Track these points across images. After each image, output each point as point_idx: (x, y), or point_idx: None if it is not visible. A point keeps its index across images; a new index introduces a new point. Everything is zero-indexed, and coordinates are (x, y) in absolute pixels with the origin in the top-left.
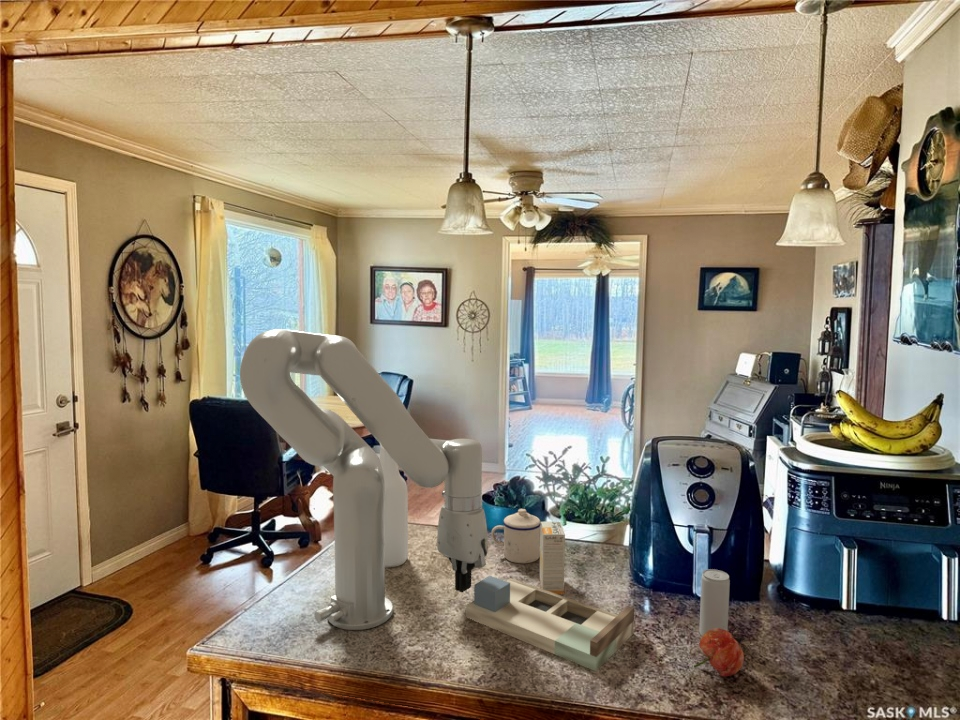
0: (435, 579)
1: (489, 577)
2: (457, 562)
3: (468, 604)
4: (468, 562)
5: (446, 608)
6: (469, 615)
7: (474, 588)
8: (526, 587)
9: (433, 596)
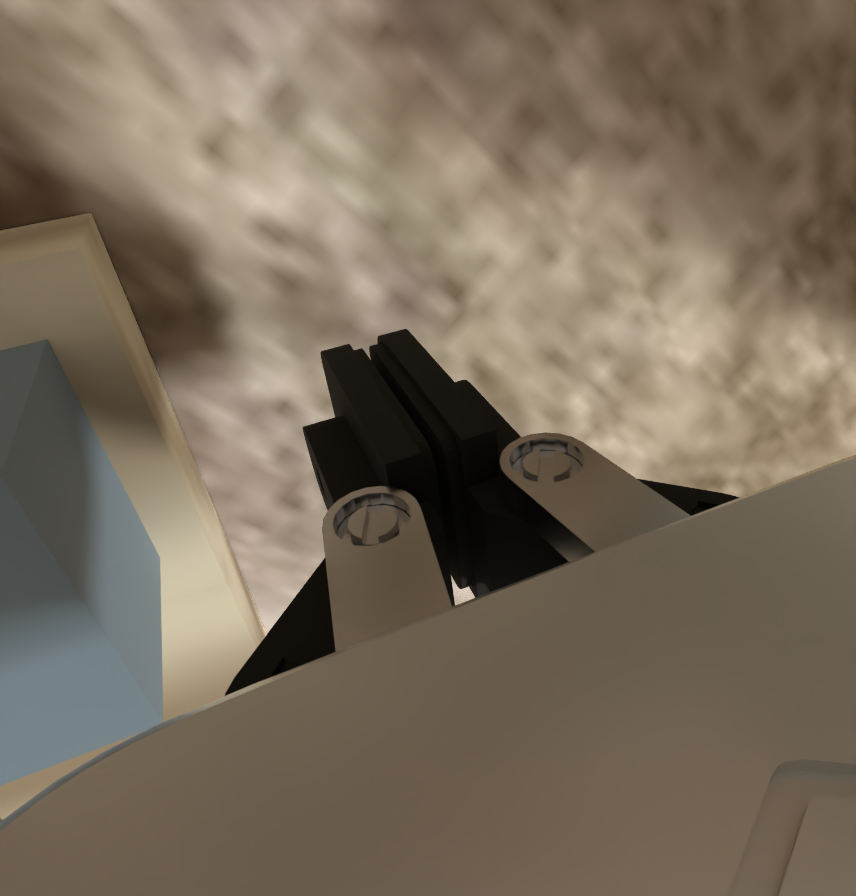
0: (720, 382)
1: (114, 710)
2: (561, 549)
3: (81, 282)
4: (91, 760)
5: (370, 174)
6: (38, 232)
7: (12, 442)
8: None
9: (594, 221)
